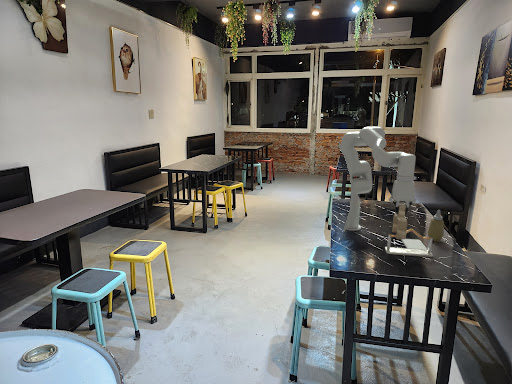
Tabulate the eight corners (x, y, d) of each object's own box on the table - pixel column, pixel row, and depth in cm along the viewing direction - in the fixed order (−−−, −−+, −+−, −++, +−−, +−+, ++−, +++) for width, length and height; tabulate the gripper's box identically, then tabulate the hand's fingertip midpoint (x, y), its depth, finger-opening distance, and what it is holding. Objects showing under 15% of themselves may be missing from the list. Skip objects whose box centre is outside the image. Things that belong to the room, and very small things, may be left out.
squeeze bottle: (434, 243, 184) (438, 212, 179) (423, 238, 191) (427, 208, 187) (445, 241, 186) (450, 211, 181) (434, 236, 193) (439, 207, 189)
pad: (401, 239, 189) (401, 238, 189) (419, 240, 187) (419, 239, 187) (407, 249, 176) (407, 248, 175) (427, 250, 174) (427, 249, 174)
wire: (384, 249, 176) (387, 225, 172) (428, 252, 172) (432, 228, 169) (387, 253, 170) (389, 229, 167) (432, 257, 166) (436, 232, 163)
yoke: (392, 231, 175) (395, 201, 171) (399, 231, 174) (403, 201, 170) (397, 238, 164) (400, 207, 160) (405, 239, 164) (409, 207, 160)
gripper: (420, 177, 164) (415, 212, 169) (386, 176, 167) (382, 211, 172) (424, 180, 157) (420, 217, 162) (389, 179, 160) (385, 215, 164)
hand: (400, 213), depth 167 cm, fingers closed on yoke, 3 cm apart
